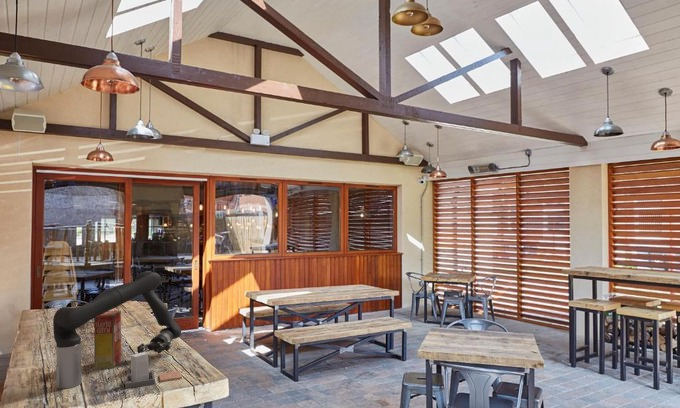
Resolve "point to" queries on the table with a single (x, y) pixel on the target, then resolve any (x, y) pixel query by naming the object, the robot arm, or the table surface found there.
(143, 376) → the skincare box
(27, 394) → the table surface
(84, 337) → the table surface
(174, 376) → the tile
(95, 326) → the food packaging
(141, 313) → the table surface
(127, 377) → the tray
